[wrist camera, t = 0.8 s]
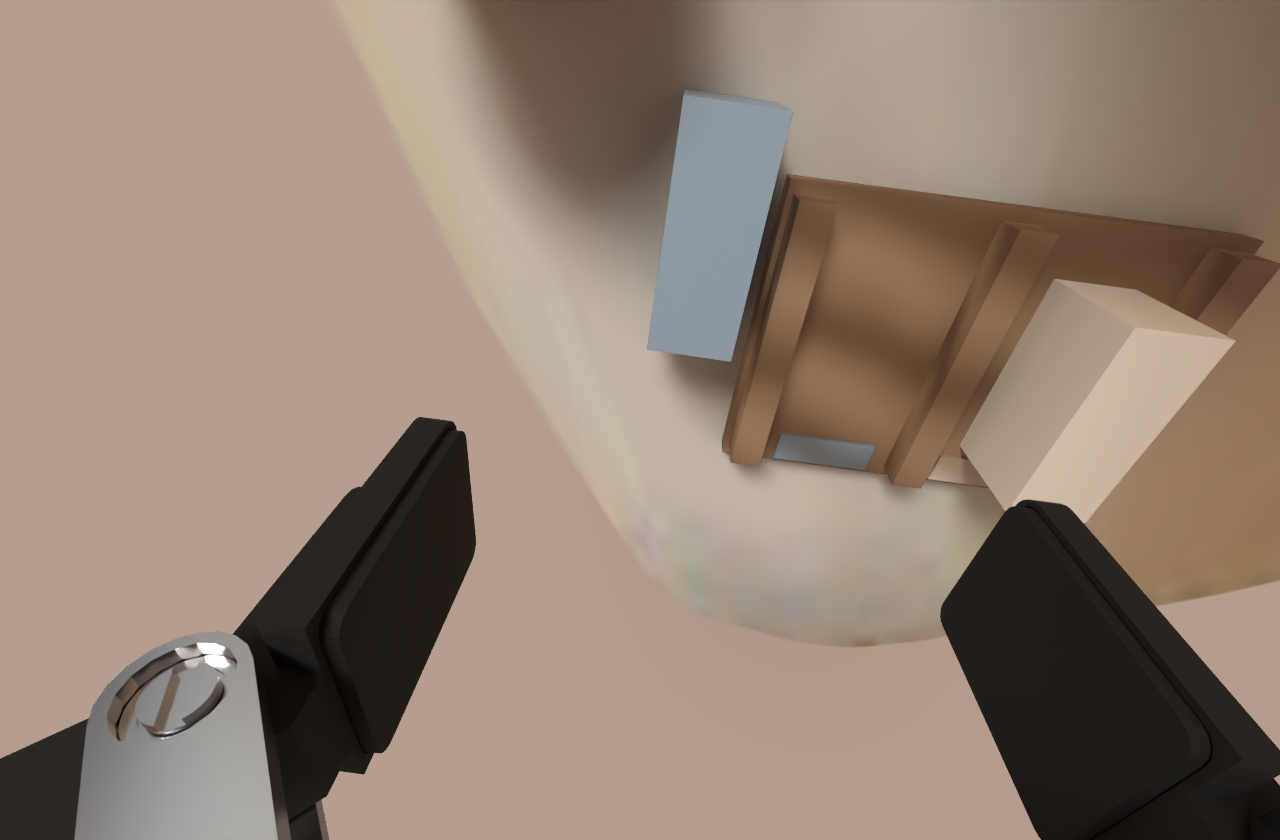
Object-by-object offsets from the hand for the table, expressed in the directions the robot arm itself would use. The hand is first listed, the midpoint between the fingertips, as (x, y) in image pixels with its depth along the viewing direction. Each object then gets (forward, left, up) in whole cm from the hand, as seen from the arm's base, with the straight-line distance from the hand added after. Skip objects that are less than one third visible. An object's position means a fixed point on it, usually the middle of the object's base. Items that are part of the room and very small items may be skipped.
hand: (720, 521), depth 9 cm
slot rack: (+4, +12, -18) cm, 22 cm away
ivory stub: (+4, +17, -17) cm, 24 cm away
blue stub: (-1, 0, -18) cm, 18 cm away
